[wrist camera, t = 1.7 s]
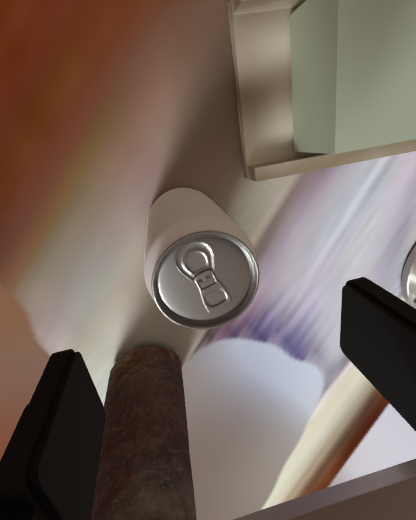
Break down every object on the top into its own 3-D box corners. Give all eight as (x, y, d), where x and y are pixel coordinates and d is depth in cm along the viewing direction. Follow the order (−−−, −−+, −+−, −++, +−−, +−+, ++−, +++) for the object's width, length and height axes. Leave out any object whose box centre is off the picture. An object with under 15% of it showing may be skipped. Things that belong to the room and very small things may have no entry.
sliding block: (424, 127, 25) (497, 123, 20) (293, 151, 24) (334, 153, 18) (441, -5, 21) (537, -53, 16) (289, 15, 20) (338, -30, 15)
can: (200, 173, 24) (239, 197, 13) (229, 237, 27) (283, 302, 16) (132, 208, 24) (116, 262, 13) (168, 269, 27) (180, 355, 16)
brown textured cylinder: (140, 406, 33) (126, 739, 14) (93, 370, 30) (1, 731, 11) (194, 369, 32) (250, 668, 14) (151, 328, 29) (151, 640, 11)
